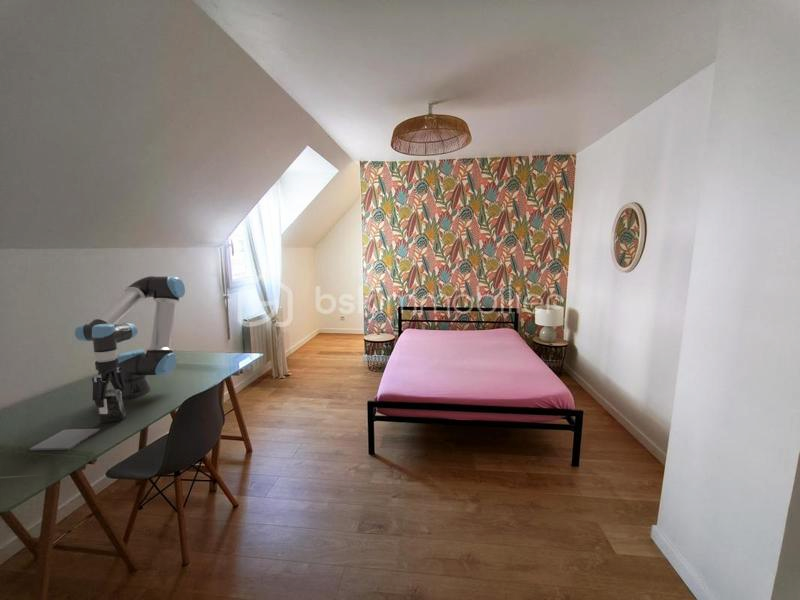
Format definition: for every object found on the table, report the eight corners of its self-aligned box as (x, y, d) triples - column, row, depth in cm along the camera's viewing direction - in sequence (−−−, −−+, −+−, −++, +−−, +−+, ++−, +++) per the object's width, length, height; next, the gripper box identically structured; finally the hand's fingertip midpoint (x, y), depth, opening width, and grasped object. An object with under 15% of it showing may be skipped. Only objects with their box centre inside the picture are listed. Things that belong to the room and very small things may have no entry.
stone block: (124, 421, 148) (130, 413, 152) (116, 395, 142) (123, 388, 147) (100, 423, 145) (107, 415, 150) (92, 397, 140) (99, 389, 145)
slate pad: (64, 431, 139) (64, 429, 139) (99, 430, 140) (99, 428, 140) (30, 450, 125) (29, 448, 125) (69, 449, 126) (69, 447, 126)
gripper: (115, 352, 153) (120, 399, 156) (76, 367, 133) (82, 420, 136) (132, 352, 154) (136, 399, 156) (96, 367, 133) (101, 420, 136)
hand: (111, 409), depth 146 cm, fingers closed on stone block, 8 cm apart
